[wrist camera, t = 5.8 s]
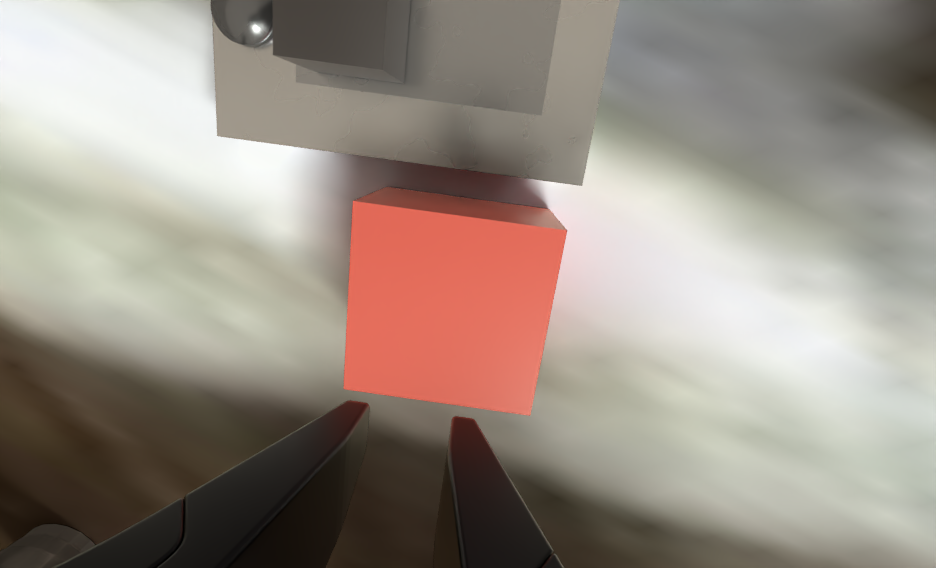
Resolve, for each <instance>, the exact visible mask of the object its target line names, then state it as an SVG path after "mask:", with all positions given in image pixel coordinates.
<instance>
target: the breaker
mask: <svg viewBox="0 0 936 568" xmlns="http://www.w3.org/2000/svg"><path fill="white" fill-rule="evenodd" d="M409 13H410V0H273V55H274V56H276V57H279V58H281V59H284V60H287V61H289V62H292V63H294V64H297V65H299V66H302V67H304V68H307V69H309V70H312V71H314V72H321V73H328V74H336V75H343V76H350V77H358V78H365V79H373V80H380V81H388V82H395V83H402V84H404V77H405V64H406V52H407V39H408V26H409Z"/></svg>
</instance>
